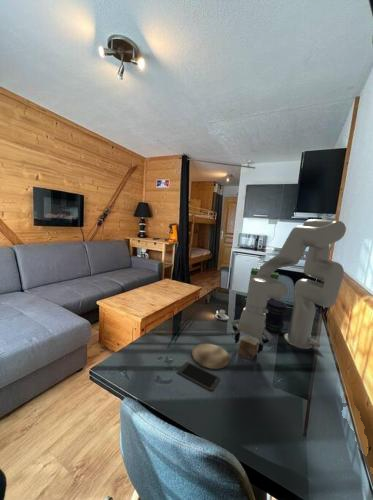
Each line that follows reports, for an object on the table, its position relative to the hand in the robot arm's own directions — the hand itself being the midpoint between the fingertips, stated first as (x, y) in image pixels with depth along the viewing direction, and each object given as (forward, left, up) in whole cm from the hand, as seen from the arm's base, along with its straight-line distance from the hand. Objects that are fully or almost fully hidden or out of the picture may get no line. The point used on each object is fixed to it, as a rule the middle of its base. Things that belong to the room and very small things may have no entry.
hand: (247, 346), depth 92 cm
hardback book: (+13, -66, -3) cm, 67 cm away
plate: (+11, +12, -3) cm, 17 cm away
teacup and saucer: (+24, -22, -4) cm, 33 cm away
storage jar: (-3, -33, -3) cm, 33 cm away
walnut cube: (0, -1, -3) cm, 3 cm away
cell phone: (+9, +25, -4) cm, 27 cm away
